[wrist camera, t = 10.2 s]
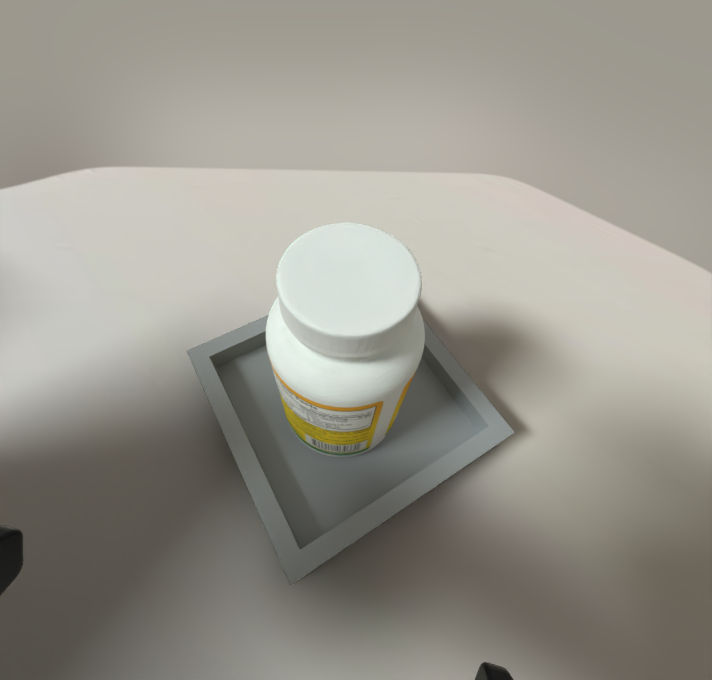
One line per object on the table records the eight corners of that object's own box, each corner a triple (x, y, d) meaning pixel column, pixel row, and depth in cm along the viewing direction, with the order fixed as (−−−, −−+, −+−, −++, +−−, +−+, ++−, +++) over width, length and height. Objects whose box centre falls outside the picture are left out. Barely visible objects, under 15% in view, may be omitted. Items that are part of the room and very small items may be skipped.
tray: (294, 583, 15) (290, 584, 14) (198, 367, 20) (186, 351, 18) (499, 443, 19) (514, 432, 17) (376, 286, 23) (379, 265, 22)
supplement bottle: (326, 484, 17) (317, 404, 9) (265, 390, 19) (211, 252, 11) (419, 416, 19) (488, 295, 10) (354, 337, 21) (368, 183, 12)
